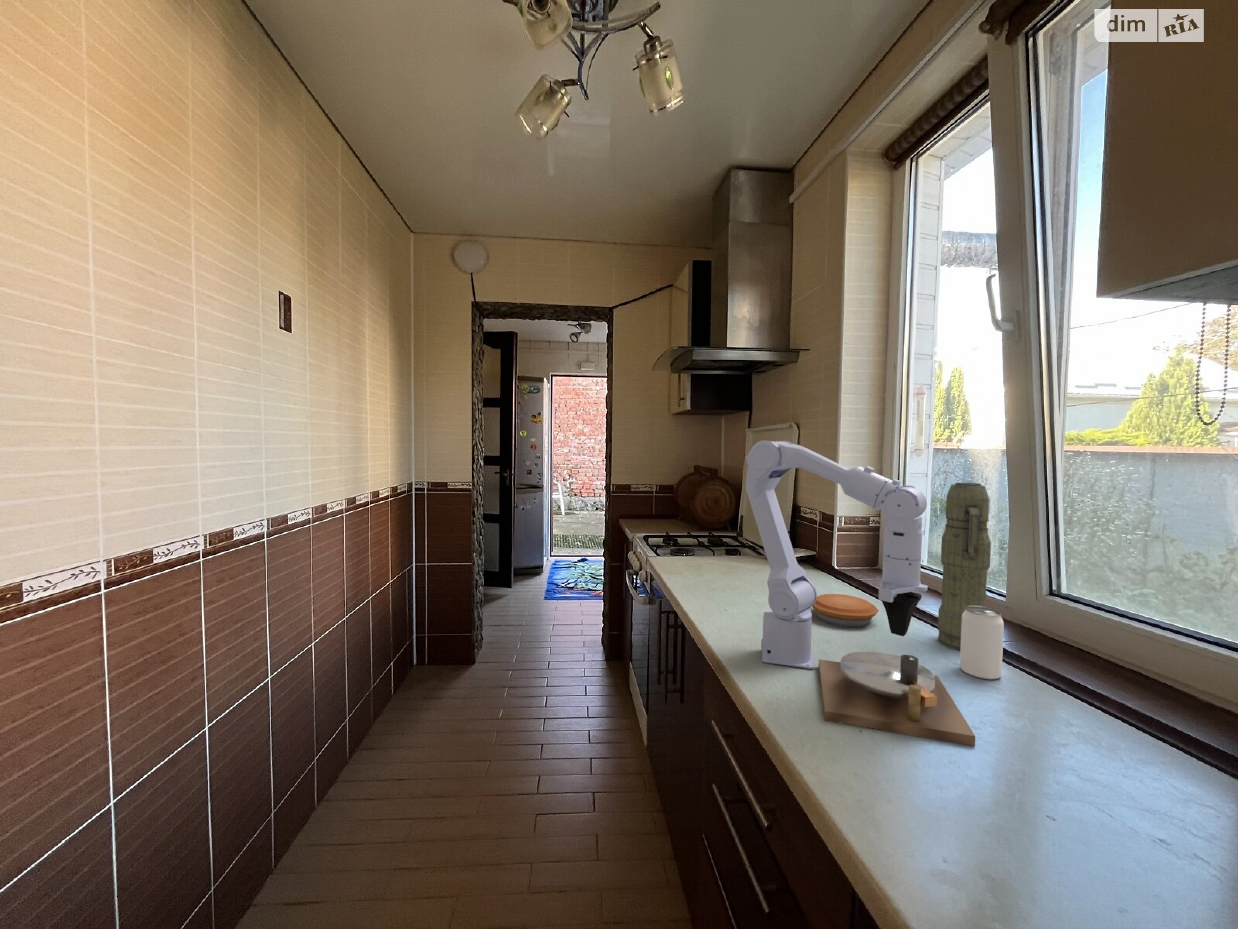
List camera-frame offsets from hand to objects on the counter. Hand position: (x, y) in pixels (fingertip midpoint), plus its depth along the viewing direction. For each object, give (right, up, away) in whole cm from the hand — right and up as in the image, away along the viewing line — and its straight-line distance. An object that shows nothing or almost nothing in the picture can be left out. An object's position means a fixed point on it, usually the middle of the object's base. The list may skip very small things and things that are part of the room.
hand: (898, 633), depth 88 cm
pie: (+7, -9, +37) cm, 39 cm away
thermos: (+26, -10, +22) cm, 35 cm away
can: (+20, -10, +8) cm, 24 cm away
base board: (-4, -10, -3) cm, 11 cm away
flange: (-4, -6, -4) cm, 8 cm away
